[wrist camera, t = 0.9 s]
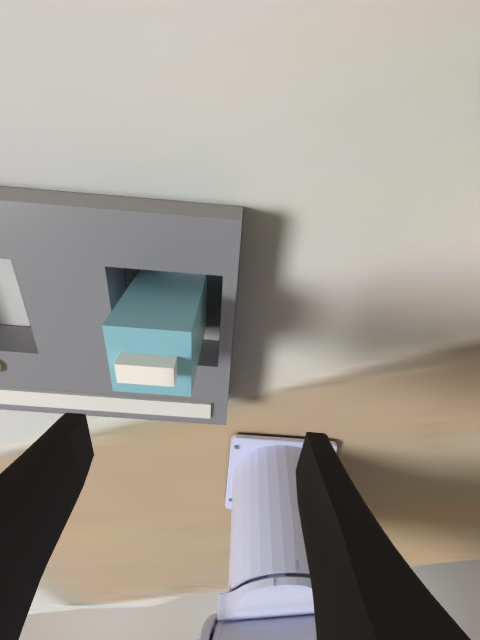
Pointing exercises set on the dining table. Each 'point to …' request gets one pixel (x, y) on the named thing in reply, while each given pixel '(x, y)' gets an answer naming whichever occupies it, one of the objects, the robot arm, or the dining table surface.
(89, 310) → the panel
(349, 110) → the dining table surface
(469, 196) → the dining table surface
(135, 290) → the plug
